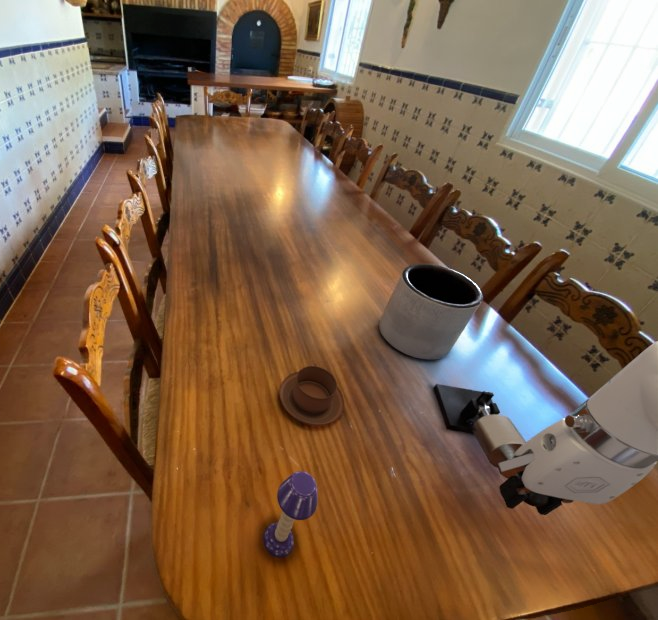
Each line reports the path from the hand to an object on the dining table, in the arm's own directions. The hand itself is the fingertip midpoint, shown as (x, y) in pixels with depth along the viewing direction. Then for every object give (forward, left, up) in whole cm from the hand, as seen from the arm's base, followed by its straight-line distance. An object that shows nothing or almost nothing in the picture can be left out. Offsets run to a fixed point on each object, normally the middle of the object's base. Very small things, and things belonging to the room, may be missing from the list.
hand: (521, 500), depth 52 cm
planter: (+38, +6, -4) cm, 39 cm away
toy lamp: (-10, +34, -4) cm, 36 cm away
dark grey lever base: (+18, 0, -4) cm, 19 cm away
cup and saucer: (+14, +30, -4) cm, 33 cm away
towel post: (+17, 0, 0) cm, 17 cm away
